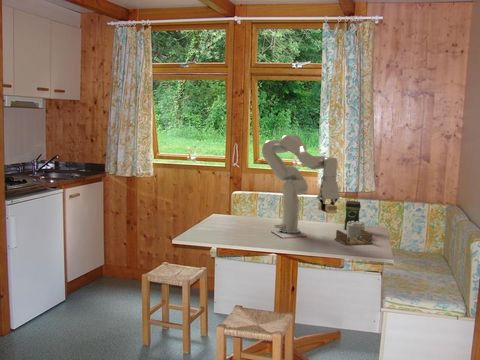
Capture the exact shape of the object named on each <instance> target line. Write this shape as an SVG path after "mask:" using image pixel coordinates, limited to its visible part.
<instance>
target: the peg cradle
mask: <svg viewBox="0 0 480 360" xmlns="http://www.w3.org/2000/svg"><path fill="white" fill-rule="evenodd" d="M335 234H336V235H335V238H334V241H335V242H337V243H340V244H341V245H344V246H357V245H359V246H360V245H361V246H362V245H374V244H373V241H372V239H373V233H372V232H370V231H367V230H366V229H365V230H361V234H360V235H357V238H350V237H347V234H346V232H343V231H341V230H339V229H337V230H336V233H335Z"/></svg>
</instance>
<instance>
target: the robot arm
mask: <svg viewBox="0 0 480 360" xmlns="http://www.w3.org/2000/svg"><path fill="white" fill-rule="evenodd" d="M307 149H308V147H307V144H305V143H304V142H302V138H301V137H300V136H299V135H297V134H285V135H283V136H282V137H281V138H280V139H269V140H266V141H265V142H264V143H263V144H262V148H261V153H262V156H263V159H264V160H265V161H266V163H267V164H268V165H269V167H270V169H271V170H272V172H273V173H274V175H275V176H276V178H277V180H279V181H280V182H284V183H283V185H282V196H283V204H282V206H283V207H282V220H281V222H280V223H279V224H274V229H279V231H280V232H281V231H282V233H285V232H287V233H286V234H297V233H298V234H299V233H300V231H301V229H300V228H298V224H299V213H300V212H299V209H300V208H299V207H300V200H299V197H298V196H300V195H304V194H306V193H307V191H309V190H308V188H309V187H308V183H307V181H306V179H305V177H304V176H303V175H302V173H301V171H300V170H299V169H298V168H297V167H296V166H295V165H286V164H285V163H284V160H283V159H282V158H281V157H280V156H279V155H278V154H283V153H287V152H288V153H289V152H290V153H291V154H293V155H294V156H296V157H297V159H298V161H299V162H300V163H301V164H302V165H304V166H305V167H307V168H308V169H310V170H323V171H322V172H323V173H322V176H321V178H320V179H321V180H322V181H321V184H320V187H319V194H318V195H317V196H316V199H317V200H318V201H319V203H321V210H323V211H322V212H324V211H325V203H326V201H327V200H330V203H329V204H332V205H335V204H336V203H337V201H338V200H339V199H340V195H339V185H338V184H339V183H338V181H337V174H338V172H337V171H338V159H337V158H336V157H334V156H333V157H332V156H329V157H328V156H325V155H312V154H311V153H309V152H308V151H307ZM321 210H320V211H321Z"/></svg>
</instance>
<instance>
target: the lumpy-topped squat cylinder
mask: <svg viewBox="0 0 480 360" xmlns="http://www.w3.org/2000/svg"><path fill="white" fill-rule="evenodd" d="M365 228H366V225H365V223H364V222H363V221H361V222H360V220H359V221H356V222H354V221H349V222H348V223H347V229H345V231H346V232H345V233H346V234H347V238H348V237H350V238H357V235H360V234H361V230H365V231H366V229H365Z"/></svg>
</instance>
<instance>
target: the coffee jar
mask: <svg viewBox="0 0 480 360" xmlns="http://www.w3.org/2000/svg"><path fill="white" fill-rule="evenodd" d="M344 209H345V218H344V222H343V223H344V224H343V229H344V230H346V229H347V223H348V222H349V221H354V222H356V221H359V222H360V211H361V202H360V201H355V200H347V201H346V202H345V206H344Z"/></svg>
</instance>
